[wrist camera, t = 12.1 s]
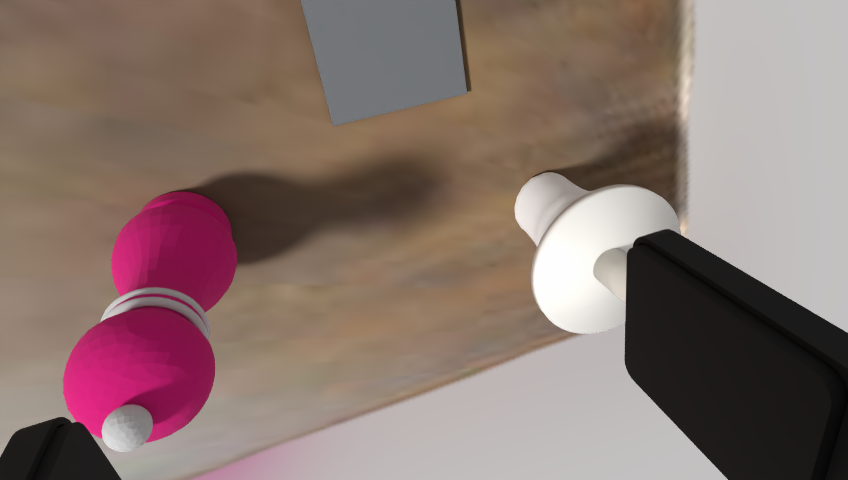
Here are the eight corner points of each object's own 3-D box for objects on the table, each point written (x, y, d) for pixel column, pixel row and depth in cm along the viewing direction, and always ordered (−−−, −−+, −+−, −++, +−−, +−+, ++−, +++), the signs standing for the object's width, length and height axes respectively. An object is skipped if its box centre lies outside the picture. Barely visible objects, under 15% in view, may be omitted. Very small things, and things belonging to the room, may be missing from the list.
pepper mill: (253, 204, 38) (250, 388, 21) (220, 287, 40) (191, 519, 23) (145, 168, 35) (35, 348, 18) (115, 260, 37) (-11, 503, 20)
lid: (523, 210, 33) (574, 253, 27) (677, 164, 34) (751, 196, 29) (536, 346, 38) (580, 403, 33) (669, 300, 40) (731, 348, 34)
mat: (282, -71, 31) (282, -72, 31) (440, -99, 33) (442, -100, 33) (332, 124, 37) (333, 126, 37) (464, 92, 39) (467, 93, 38)
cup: (574, 132, 43) (654, 169, 34) (592, 226, 47) (667, 279, 39) (476, 176, 42) (533, 225, 33) (504, 267, 46) (561, 331, 38)
